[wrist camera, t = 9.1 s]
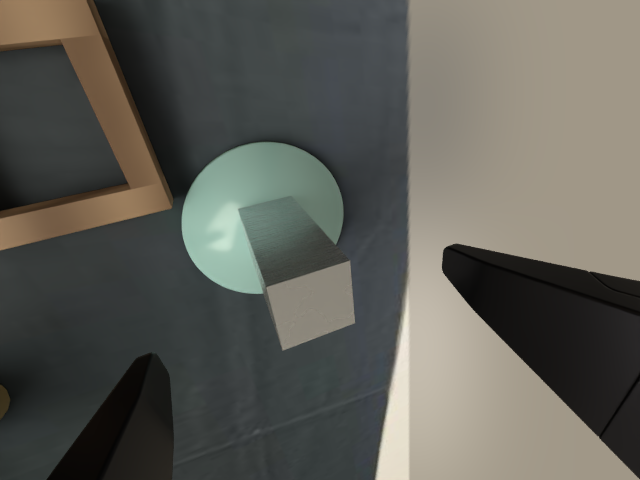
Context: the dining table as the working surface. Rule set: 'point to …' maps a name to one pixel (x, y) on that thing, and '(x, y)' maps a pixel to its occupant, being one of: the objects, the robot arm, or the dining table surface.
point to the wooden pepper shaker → (3, 401)
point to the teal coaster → (249, 189)
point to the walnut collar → (111, 110)
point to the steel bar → (298, 271)
